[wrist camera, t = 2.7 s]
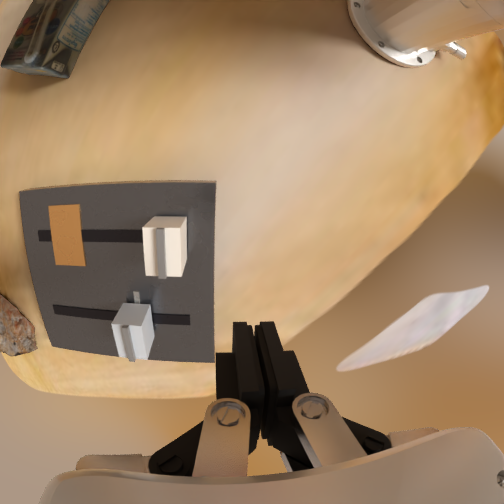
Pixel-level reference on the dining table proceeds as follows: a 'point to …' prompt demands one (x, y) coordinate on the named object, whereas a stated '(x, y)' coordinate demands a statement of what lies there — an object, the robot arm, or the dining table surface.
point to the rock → (15, 331)
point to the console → (120, 264)
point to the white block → (133, 331)
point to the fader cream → (165, 246)
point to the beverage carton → (52, 36)
